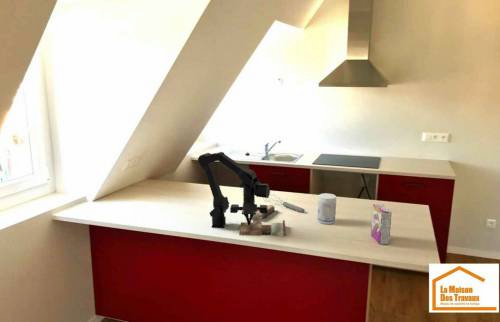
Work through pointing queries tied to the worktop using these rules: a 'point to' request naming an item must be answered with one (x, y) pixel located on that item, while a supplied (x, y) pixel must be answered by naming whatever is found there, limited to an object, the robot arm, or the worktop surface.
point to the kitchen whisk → (288, 205)
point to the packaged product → (268, 215)
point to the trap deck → (263, 229)
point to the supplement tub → (326, 208)
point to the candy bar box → (381, 224)
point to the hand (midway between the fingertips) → (249, 224)
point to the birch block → (257, 222)
